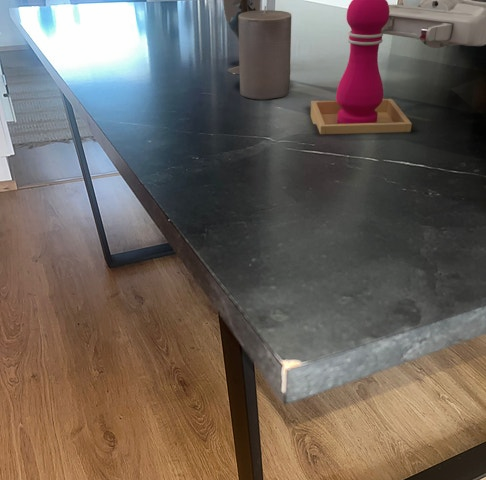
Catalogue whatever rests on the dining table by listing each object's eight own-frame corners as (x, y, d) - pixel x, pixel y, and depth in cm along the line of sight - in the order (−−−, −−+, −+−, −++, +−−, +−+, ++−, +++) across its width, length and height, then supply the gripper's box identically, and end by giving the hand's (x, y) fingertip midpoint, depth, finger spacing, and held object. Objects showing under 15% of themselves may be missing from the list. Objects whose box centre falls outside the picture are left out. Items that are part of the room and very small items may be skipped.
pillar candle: (250, 84, 107) (248, 1, 99) (296, 88, 104) (299, 2, 96) (232, 97, 100) (228, 9, 91) (281, 102, 97) (282, 11, 88)
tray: (389, 113, 90) (391, 98, 89) (409, 140, 80) (412, 123, 78) (310, 116, 90) (311, 100, 89) (319, 143, 80) (320, 126, 78)
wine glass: (266, 67, 118) (267, -9, 109) (252, 76, 112) (251, -4, 104) (235, 64, 121) (232, -10, 112) (219, 72, 115) (215, -5, 106)
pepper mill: (324, 123, 85) (334, -19, 74) (354, 113, 89) (367, -24, 77) (359, 134, 81) (375, -15, 69) (388, 123, 84) (408, -20, 73)
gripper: (392, -8, 94) (345, 2, 86) (506, 2, 82) (462, 14, 74) (387, 31, 98) (342, 44, 90) (495, 46, 85) (453, 62, 78)
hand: (397, 31), depth 82 cm, fingers open, 8 cm apart
